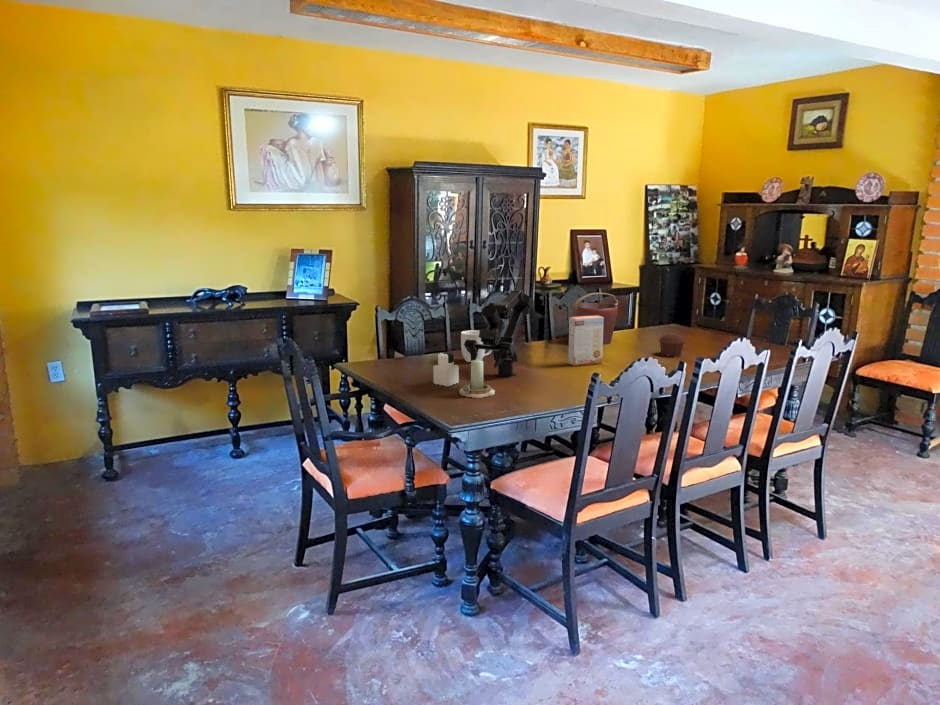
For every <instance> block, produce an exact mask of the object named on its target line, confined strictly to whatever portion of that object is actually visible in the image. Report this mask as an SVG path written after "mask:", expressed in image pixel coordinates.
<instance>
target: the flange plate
mask: <svg viewBox="0 0 940 705" xmlns="http://www.w3.org/2000/svg"><path fill="white" fill-rule="evenodd" d="M458 391H459V395H460V396H462V397H464V396H465V398H469V397H472V398H471V399H484V398H483V397H486V398H490V397H493V396H494V395H495V392H496V390H495V389H494V388H492V386H491V385H490V384H486V383H483V389H482V390H472V389H471V383H467V384H464V385H463V387H462V388H460V389H459V390H458ZM492 395H493V396H492ZM489 396H490V397H489Z"/></svg>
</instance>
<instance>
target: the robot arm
mask: <svg viewBox="0 0 940 705" xmlns="http://www.w3.org/2000/svg"><path fill="white" fill-rule="evenodd" d="M533 306H534V300H533V299H532V298H531V296H529V295H528V294H526V293H525V292H524V291H522V290H515V289H513V290H510V292H509V294H508V295H507V296H506V297H504V298H503V300H502V301H499V302H495V303H494V302H489V303H488V304H487V305H485V306H484V307H483V308H482V309H481V315H482V317H483V319H484V321H485V323H486V324H487V329H484V328H480V329H479V330H478V331H479V338H481V342H483V344H477V342H476V340H470V339H467V340H466V341H465V343H464V346H465V348H466V349H467V351H468V352H469V353H470V354H471V361H472V360H476V357H477V355H478V354H477V352H478V350H479V349H485V351H486V350H487V351H490V350H492V354H493V360H494V364H493V368H494V369H497V372H496V373H495V374H494V376H498V377H503V378H510V377H514V376H516V375H517V373H516V372H514V363H516V362H518V359H519V353H518V352H517V350H516V345H515V341H516V338H517V335H518V332H519V330H520V326H521V324H522V322H523V320H524V317H525V316H527V315H529V314H530V312H531V310H532V309H533ZM509 318H510V319H509ZM503 320H509V322H508V324H507V327H506V329H505V322H504V321H503ZM504 329H505V331H504V334H503V336H502V332H503V330H504Z"/></svg>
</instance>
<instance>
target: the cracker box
mask: <svg viewBox="0 0 940 705" xmlns="http://www.w3.org/2000/svg"><path fill="white" fill-rule="evenodd" d="M603 320H604V317H601V316H598V315H596V316H580V317H573V316H570V317H569V318H568V321H569V322H568V359H567V360H568V362H567V363H568V364H569V365H571V366H573V367H579V365H581V366H592V365H600V364H601V365H603V348H604V347H603V346H604V345H603Z"/></svg>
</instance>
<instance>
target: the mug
mask: <svg viewBox="0 0 940 705" xmlns="http://www.w3.org/2000/svg"><path fill="white" fill-rule="evenodd" d="M479 331H480V330H478V329H477V330H475V329H474V330H470V329H469V330H463V331H461V332H460V348H461V349H460V350H461V354H462V357H463V359H464V360H465V362H466V363H469V362H471V354H470V353H469V352H468V351H467V349H466V348H465V346H464V343H465V341H466V340H467V339H470V340H476V342H477V344H483V342H481V338H479ZM485 352H486V350H485V349H479V350H478V352H477V354H478V355H477V357H476V360H482V361H483V358H484V357H486V356H488V355H490V354H492V353H493V350H488V351H487V352H486V353H485Z"/></svg>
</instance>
